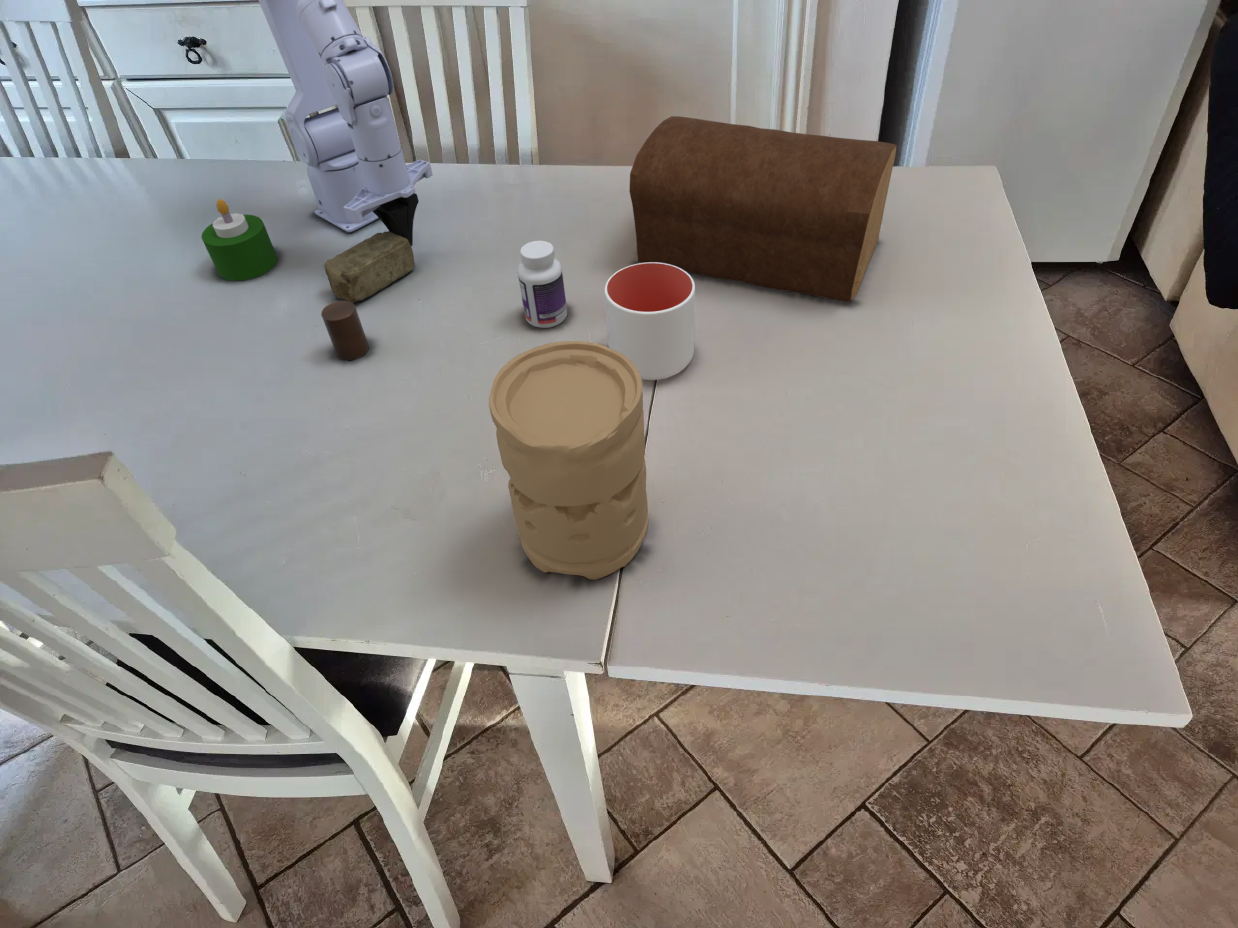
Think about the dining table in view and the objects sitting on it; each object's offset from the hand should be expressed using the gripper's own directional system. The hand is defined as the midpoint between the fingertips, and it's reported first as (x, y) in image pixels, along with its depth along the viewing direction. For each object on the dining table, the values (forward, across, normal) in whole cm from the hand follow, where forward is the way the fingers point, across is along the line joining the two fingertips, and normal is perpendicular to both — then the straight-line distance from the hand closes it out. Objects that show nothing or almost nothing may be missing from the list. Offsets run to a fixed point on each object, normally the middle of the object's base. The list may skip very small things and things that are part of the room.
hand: (404, 245), depth 114 cm
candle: (+2, -12, +20) cm, 23 cm away
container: (+2, -29, -49) cm, 57 cm away
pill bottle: (+2, -2, -26) cm, 26 cm away
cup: (+2, -3, -42) cm, 42 cm away
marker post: (+2, -19, -8) cm, 21 cm away
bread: (+2, +23, -43) cm, 49 cm away
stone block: (+2, -7, 0) cm, 7 cm away
